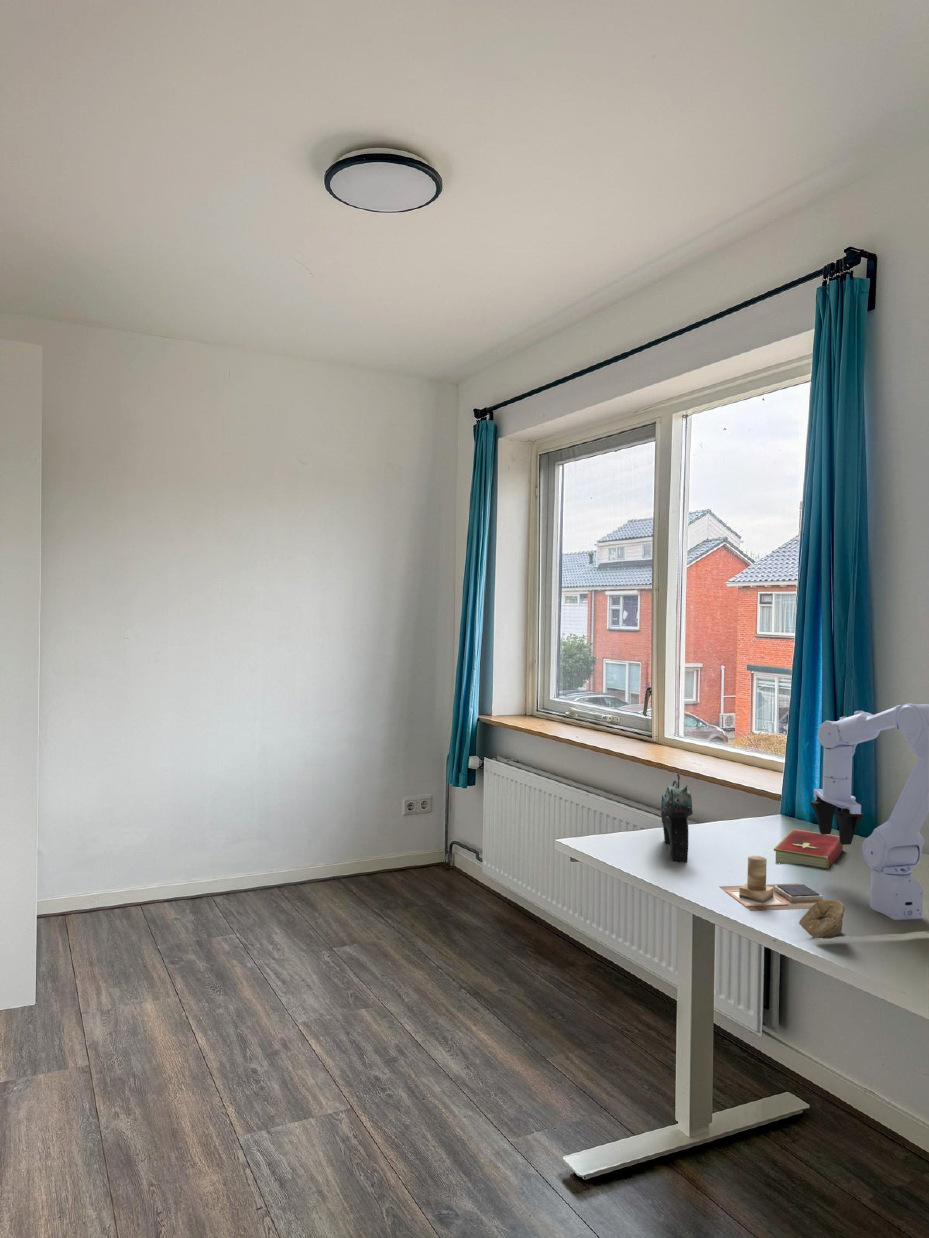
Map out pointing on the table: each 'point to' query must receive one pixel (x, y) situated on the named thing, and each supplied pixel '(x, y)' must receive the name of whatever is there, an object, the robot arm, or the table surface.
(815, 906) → the fossil
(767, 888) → the stamp
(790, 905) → the board
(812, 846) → the hardcover book
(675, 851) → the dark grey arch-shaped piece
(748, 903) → the square coaster
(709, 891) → the table surface
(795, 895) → the ink pad
